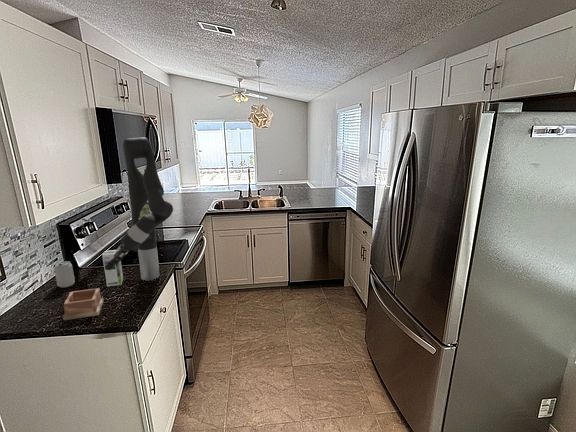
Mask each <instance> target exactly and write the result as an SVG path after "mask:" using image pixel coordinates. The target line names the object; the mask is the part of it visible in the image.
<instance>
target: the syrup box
mask: <svg viewBox="0 0 576 432" xmlns="http://www.w3.org/2000/svg"><path fill="white" fill-rule="evenodd" d="M117 251H118V250H116V249H113V250H111V249H110V250H105V251H104V252H103V253H102V263H103V268H104V269H103V270H104V274H105V280H106V281H105V282H106V287H113V286H122V284H123V280H124V275H123V267H122V266H123V265H122V260H121V261H120V262H119V263H118V264H117V265H114V266H113V267H112V268H111V269H110V270H107V269H106V268H105V266H106V265H107V264H108V263H109V262H110V261H111V259H113V257H114V254H115V253H116V252H117ZM115 261H117V259H115Z"/></svg>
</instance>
